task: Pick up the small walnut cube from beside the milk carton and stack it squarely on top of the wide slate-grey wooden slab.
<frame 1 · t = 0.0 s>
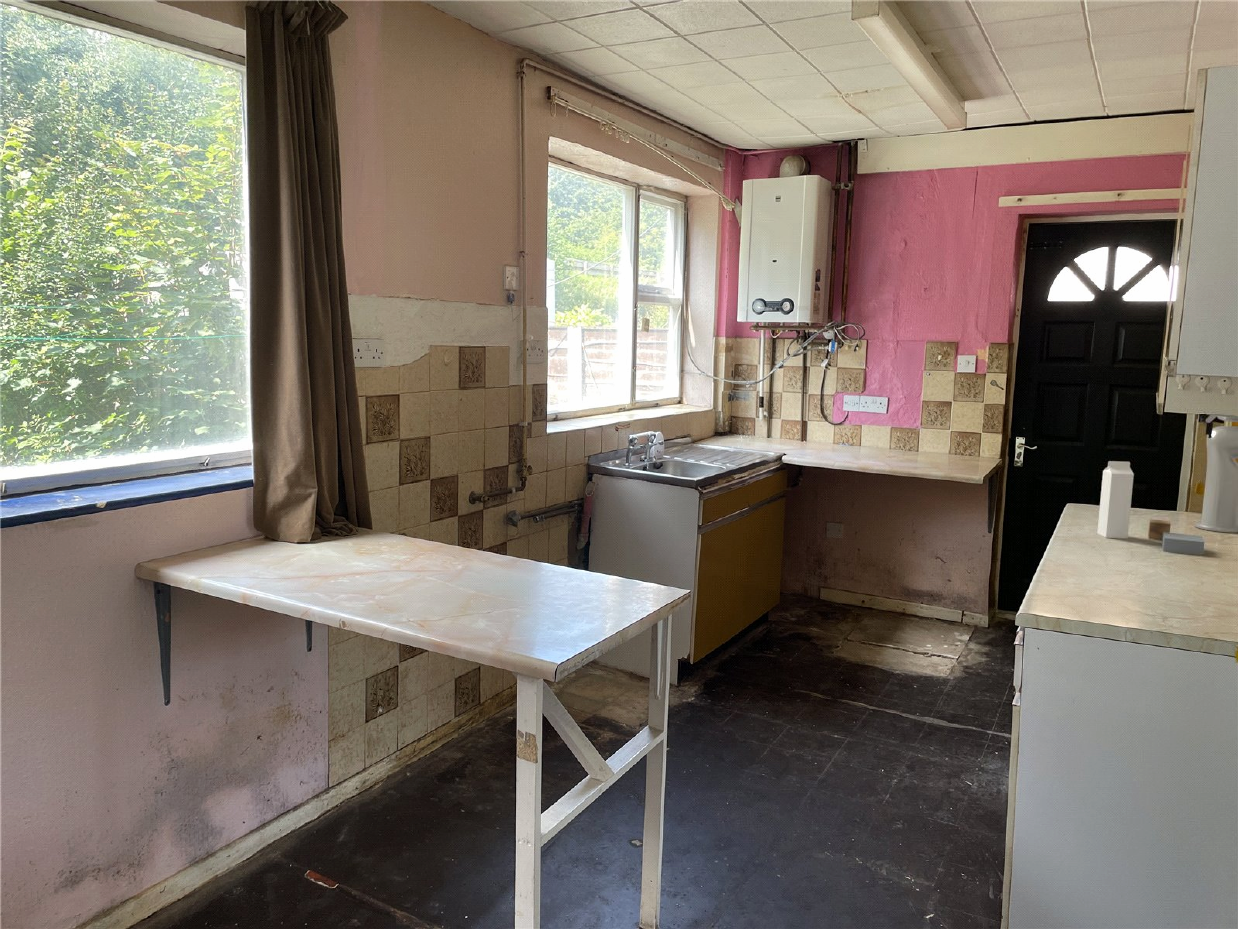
hand: (1232, 439, 227), 31 cm above the kitchen counter, tool pointing down, fingers open, 9 cm apart
milk: (1112, 536, 255), on the kitchen counter
grey slab: (1181, 551, 238), on the kitchen counter
walnut cube: (1158, 538, 253), on the kitchen counter
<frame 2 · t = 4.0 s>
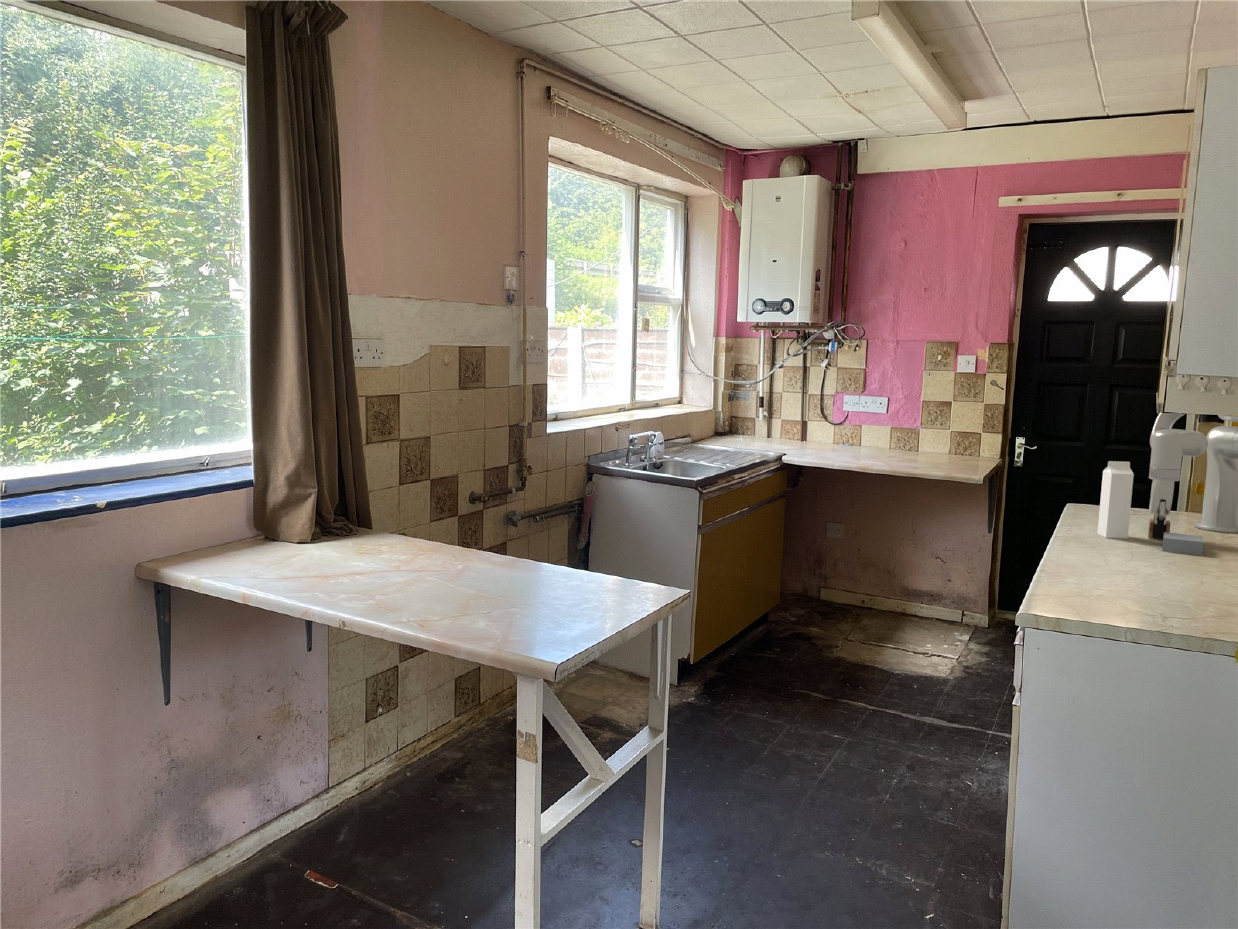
hand: (1158, 535, 253), 1 cm above the kitchen counter, tool pointing down, fingers closed on walnut cube, 5 cm apart
walnut cube: (1158, 538, 253), on the kitchen counter, touching gripper
everything else where it was.
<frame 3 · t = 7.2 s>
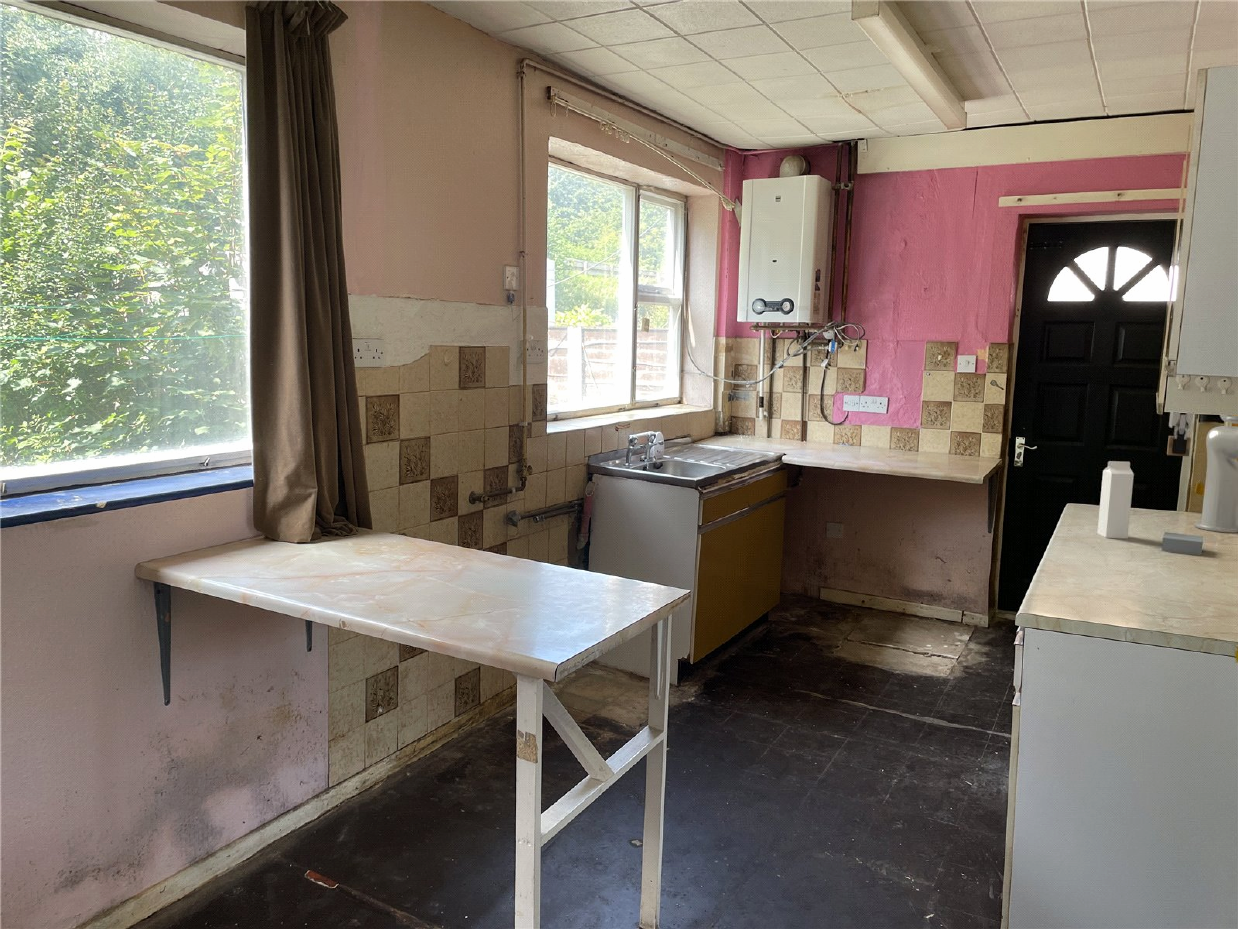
hand: (1178, 452, 242), 26 cm above the kitchen counter, tool pointing down, fingers closed on walnut cube, 5 cm apart
walnut cube: (1177, 454, 242), point 25 cm above the kitchen counter, touching gripper
everything else where it was.
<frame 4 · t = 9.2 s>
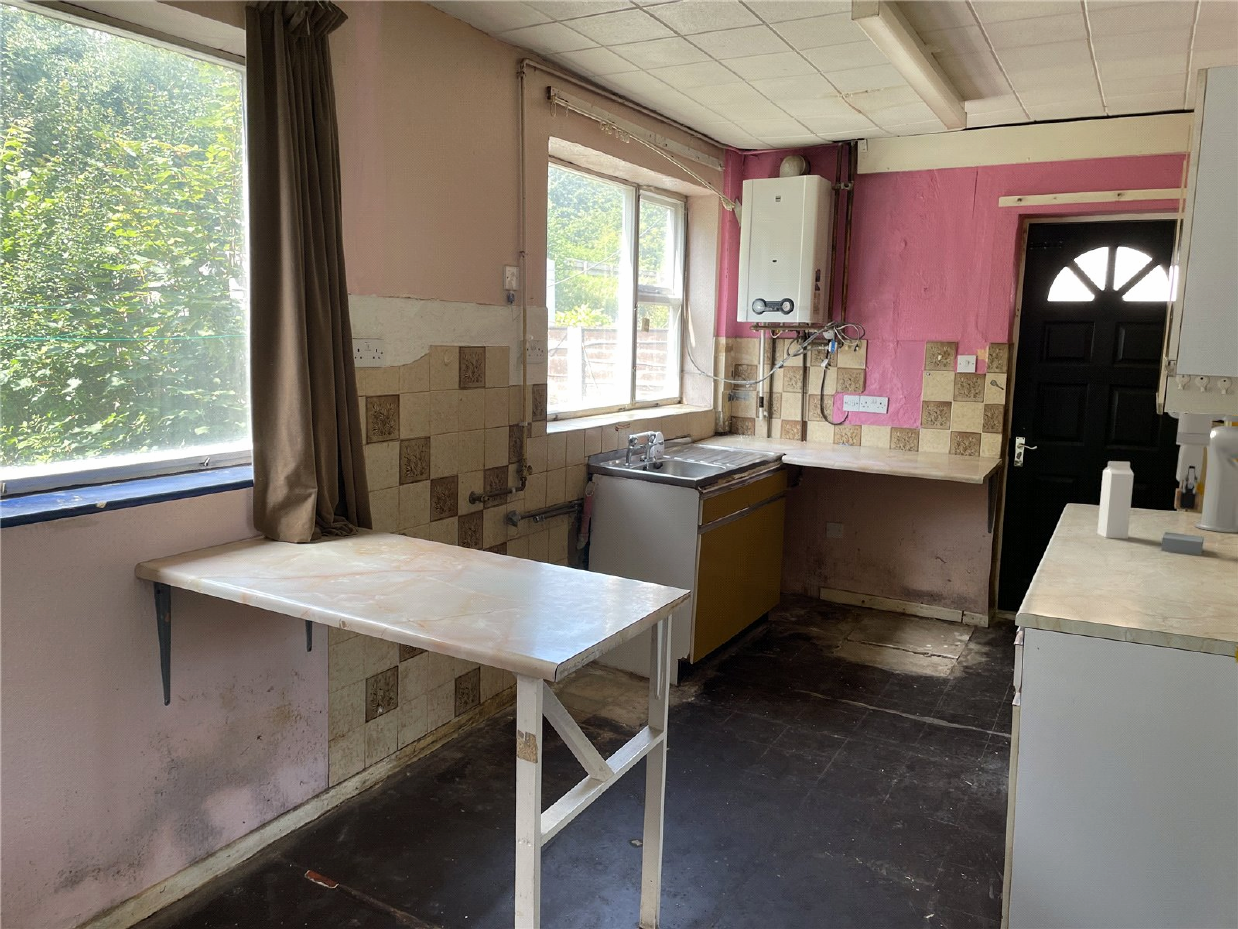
hand: (1186, 505, 236), 12 cm above the kitchen counter, tool pointing down, fingers closed on walnut cube, 5 cm apart
walnut cube: (1185, 508, 236), point 12 cm above the kitchen counter, touching gripper
everything else where it was.
when the fingers open (6 cm above the kitchen counter, at t = 10.8 s): walnut cube drops 2 cm, resting on grey slab.
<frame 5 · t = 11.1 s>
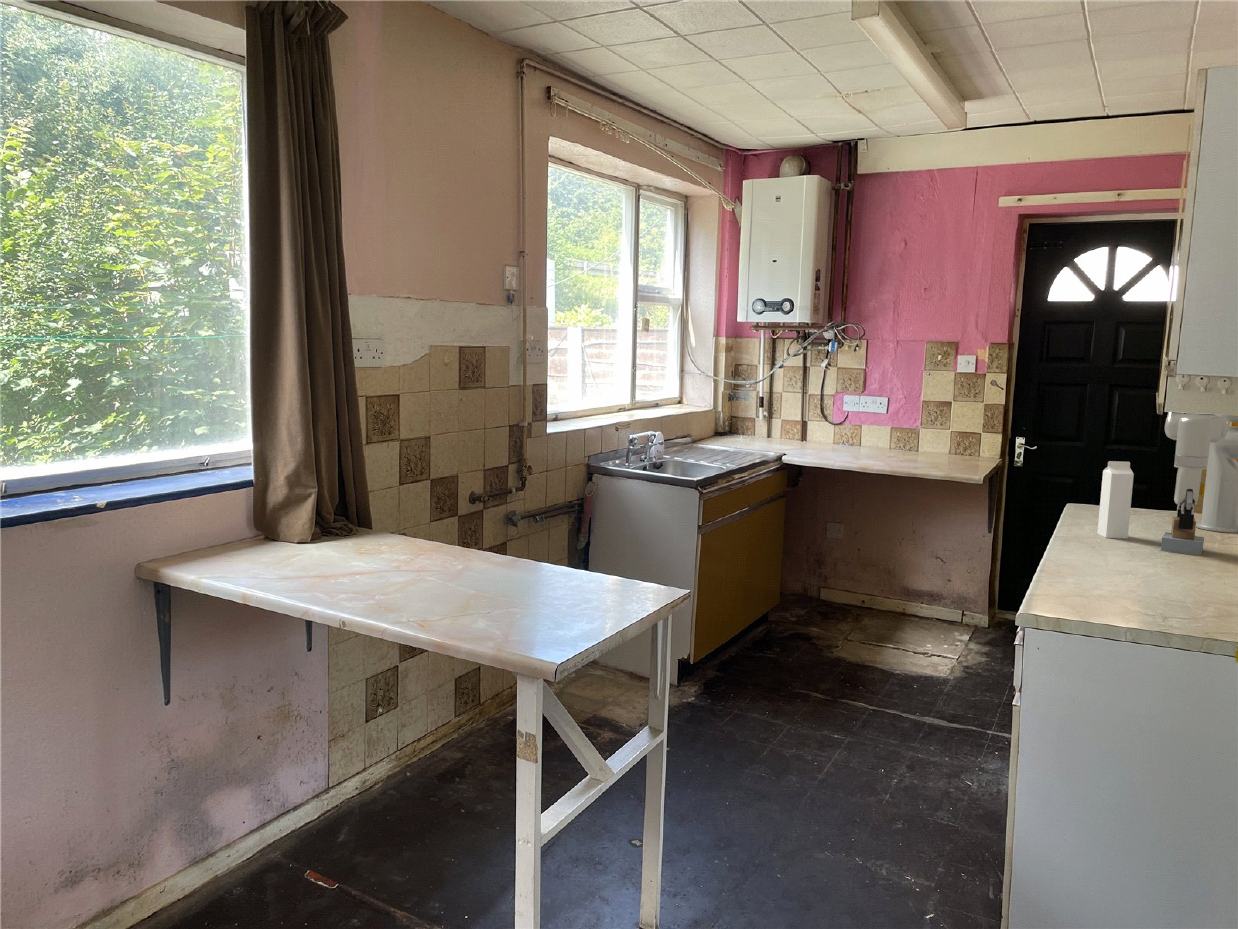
hand: (1184, 526, 237), 7 cm above the kitchen counter, tool pointing down, fingers open, 8 cm apart
grey slab: (1181, 551, 238), on the kitchen counter, touching walnut cube
walnut cube: (1182, 537, 237), point 4 cm above the kitchen counter, touching grey slab
everything else where it was.
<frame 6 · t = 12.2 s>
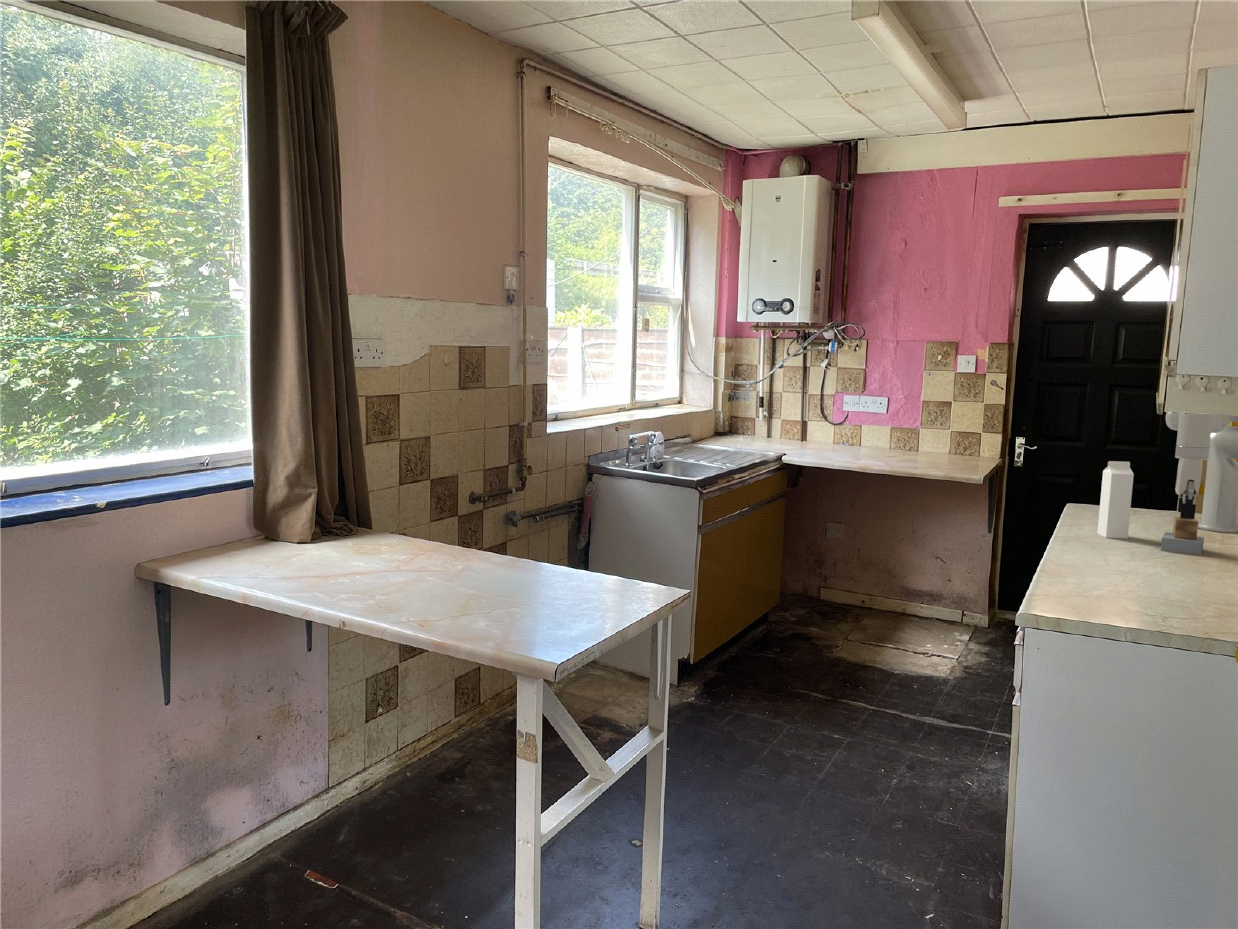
hand: (1185, 515, 237), 10 cm above the kitchen counter, tool pointing down, fingers open, 9 cm apart
nothing on the kitchen counter moved.
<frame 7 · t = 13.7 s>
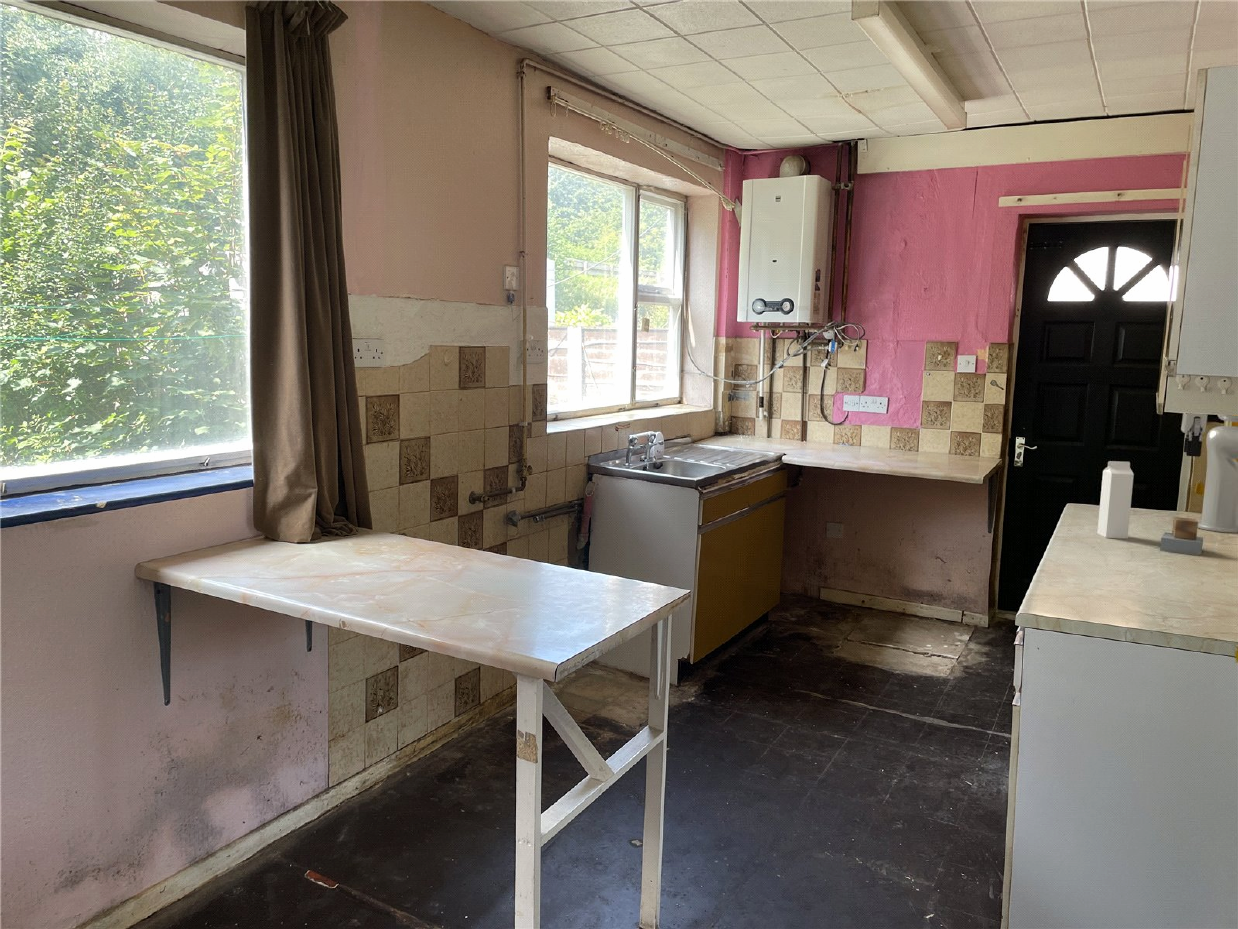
hand: (1191, 454, 235), 26 cm above the kitchen counter, tool pointing down, fingers open, 9 cm apart
nothing on the kitchen counter moved.
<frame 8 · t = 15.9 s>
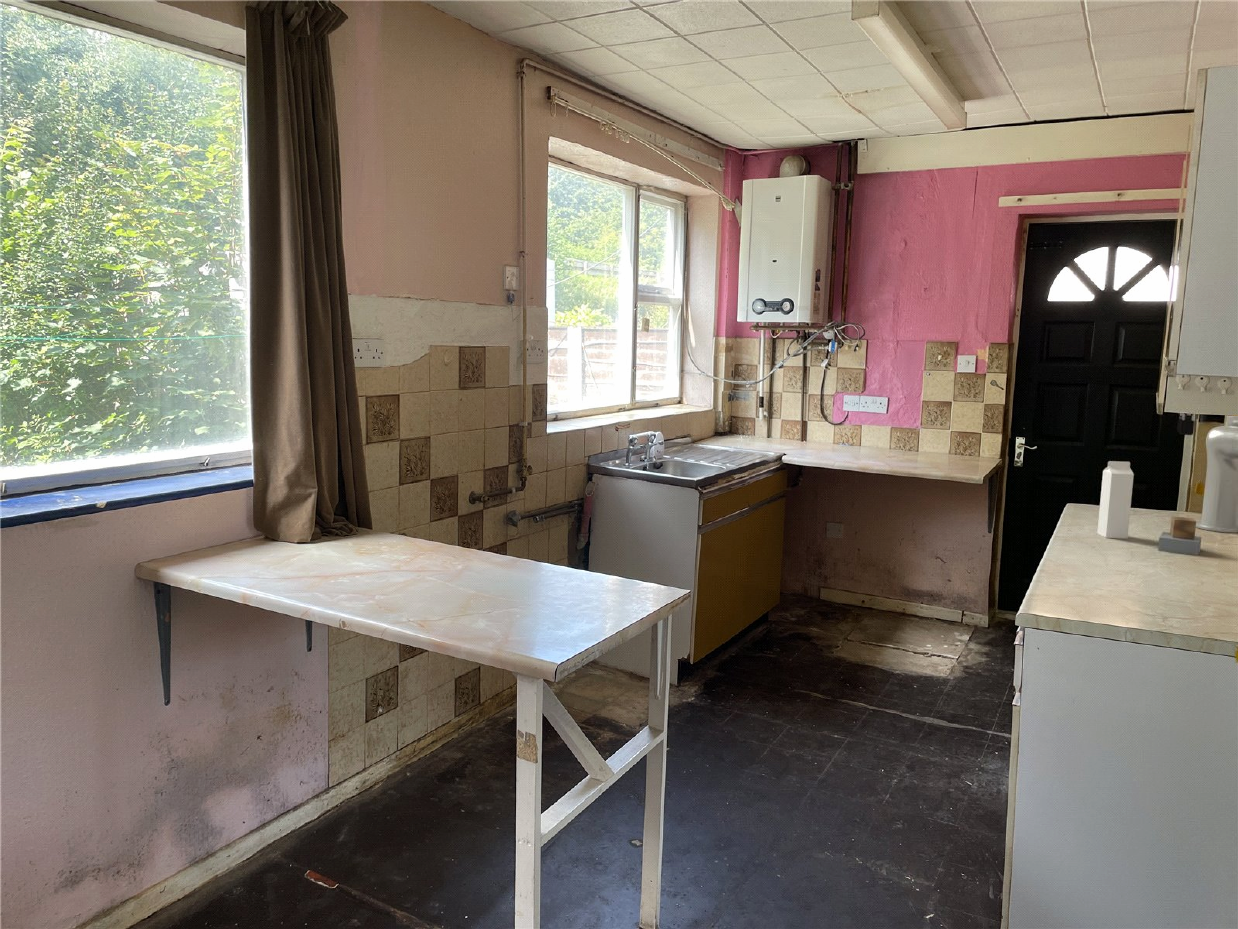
hand: (1185, 433, 252), 30 cm above the kitchen counter, tool pointing down, fingers open, 9 cm apart
nothing on the kitchen counter moved.
at the end: walnut cube 0.3 cm off-centre on the grey slab, point 4.0 cm above the grey slab's base; walnut cube tilted 0°; walnut cube touching nothing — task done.
